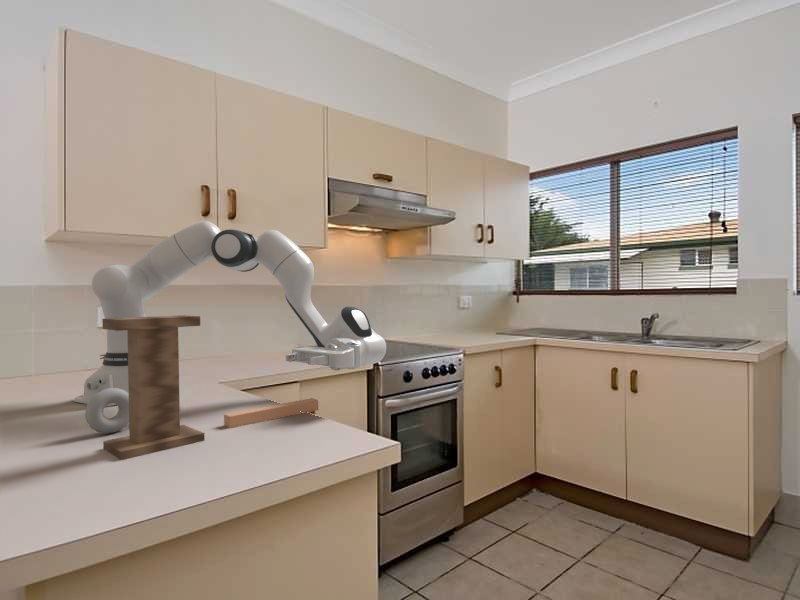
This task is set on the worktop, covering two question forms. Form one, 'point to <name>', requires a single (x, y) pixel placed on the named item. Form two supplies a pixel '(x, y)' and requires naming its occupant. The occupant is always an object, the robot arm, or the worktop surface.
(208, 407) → the worktop surface
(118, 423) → the donut
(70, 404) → the worktop surface
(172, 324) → the stand
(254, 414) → the rod
